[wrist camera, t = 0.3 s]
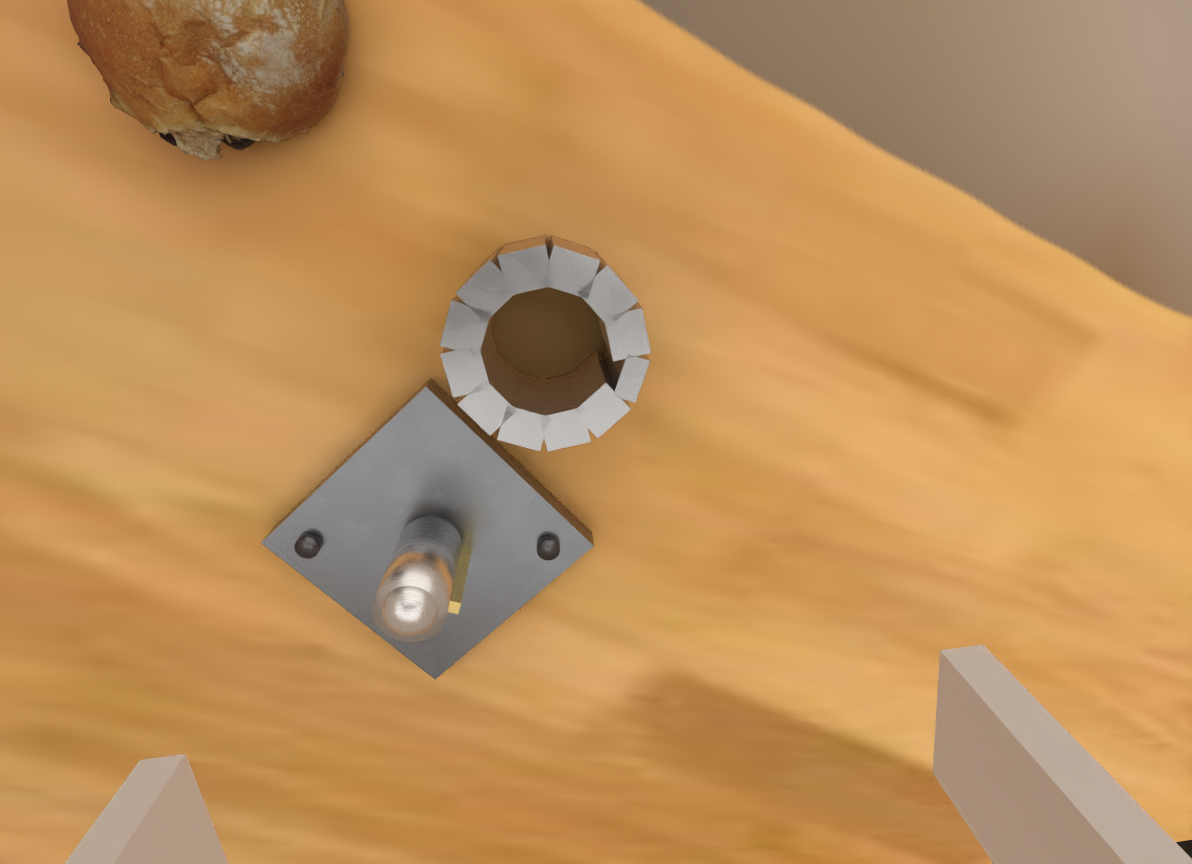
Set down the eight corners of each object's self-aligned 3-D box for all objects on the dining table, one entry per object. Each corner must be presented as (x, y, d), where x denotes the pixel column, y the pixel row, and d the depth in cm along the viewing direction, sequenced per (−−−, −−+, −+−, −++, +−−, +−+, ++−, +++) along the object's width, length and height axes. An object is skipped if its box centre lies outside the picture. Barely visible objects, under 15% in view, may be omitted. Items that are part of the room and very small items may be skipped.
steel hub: (423, 321, 33) (398, 348, 28) (549, 199, 32) (550, 200, 26) (542, 439, 36) (542, 486, 30) (665, 330, 34) (689, 358, 29)
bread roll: (394, 71, 33) (412, -35, 25) (244, 224, 31) (215, 156, 23) (211, -102, 30) (171, -280, 23) (32, 50, 28) (-80, -91, 20)
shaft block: (272, 529, 36) (198, 620, 28) (430, 378, 34) (397, 433, 26) (438, 662, 40) (413, 775, 32) (592, 532, 38) (604, 620, 30)
